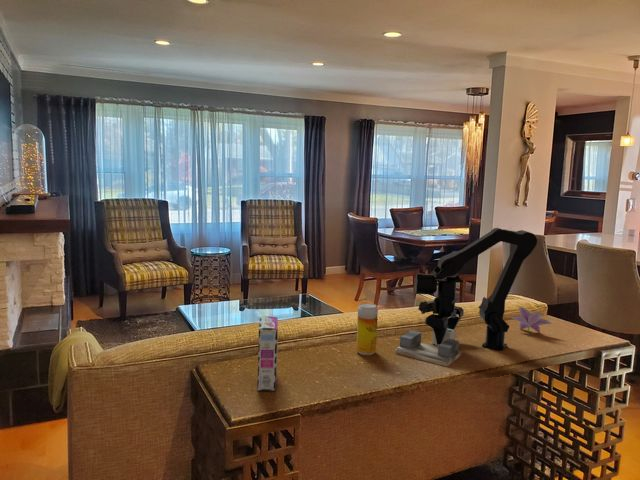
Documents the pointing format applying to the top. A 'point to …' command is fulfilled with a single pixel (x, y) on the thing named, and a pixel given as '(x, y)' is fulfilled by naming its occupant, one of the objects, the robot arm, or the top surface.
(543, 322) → the lily
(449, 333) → the module block
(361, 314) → the beer can
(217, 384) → the top surface
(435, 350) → the rail board
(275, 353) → the candy bar box
